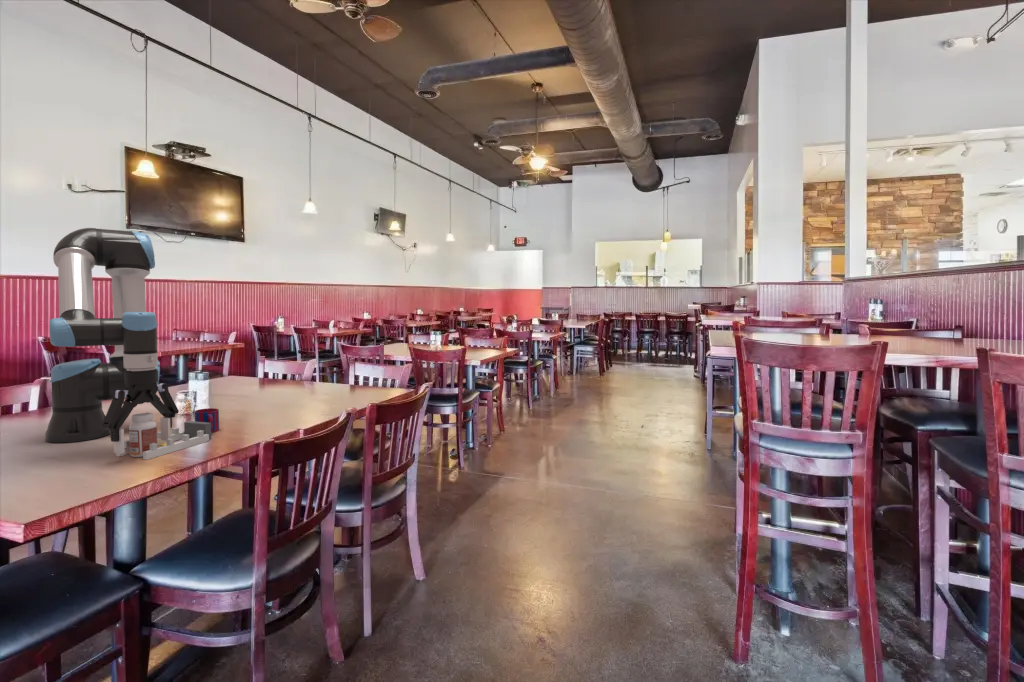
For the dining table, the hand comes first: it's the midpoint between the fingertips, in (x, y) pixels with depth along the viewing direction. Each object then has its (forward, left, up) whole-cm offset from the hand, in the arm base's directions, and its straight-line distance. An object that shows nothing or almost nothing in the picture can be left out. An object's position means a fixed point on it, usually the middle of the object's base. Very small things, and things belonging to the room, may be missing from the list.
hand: (143, 446), depth 141 cm
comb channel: (0, +7, -2) cm, 7 cm away
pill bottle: (0, 0, -2) cm, 2 cm away
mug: (-4, +25, -2) cm, 25 cm away
